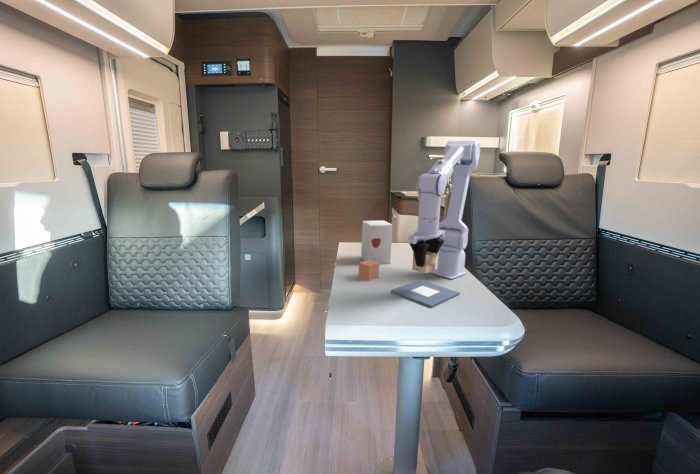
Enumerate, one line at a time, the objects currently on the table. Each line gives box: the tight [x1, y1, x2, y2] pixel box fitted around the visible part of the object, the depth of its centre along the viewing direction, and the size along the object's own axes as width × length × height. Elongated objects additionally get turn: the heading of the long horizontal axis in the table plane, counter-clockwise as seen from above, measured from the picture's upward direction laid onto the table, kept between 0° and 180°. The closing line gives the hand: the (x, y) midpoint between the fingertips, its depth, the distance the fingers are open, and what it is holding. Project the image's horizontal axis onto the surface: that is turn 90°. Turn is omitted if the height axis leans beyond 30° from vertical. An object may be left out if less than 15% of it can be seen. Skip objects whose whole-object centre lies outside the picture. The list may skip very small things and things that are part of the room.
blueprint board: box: [390, 279, 461, 309], centre depth 98 cm, size 14×14×1 cm
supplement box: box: [360, 219, 393, 265], centre depth 126 cm, size 9×9×15 cm
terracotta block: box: [358, 260, 380, 281], centre depth 109 cm, size 5×5×5 cm
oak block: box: [412, 251, 437, 274], centre depth 97 cm, size 5×5×5 cm
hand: (425, 264), depth 97 cm, fingers closed on oak block, 5 cm apart
